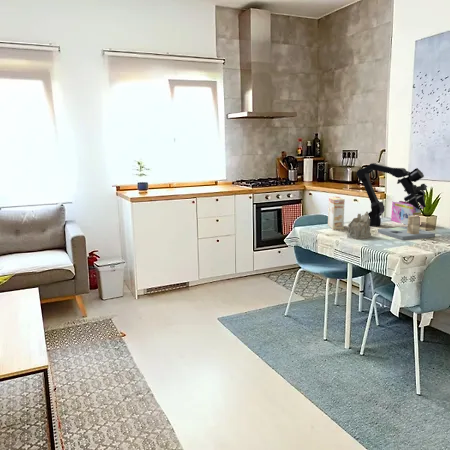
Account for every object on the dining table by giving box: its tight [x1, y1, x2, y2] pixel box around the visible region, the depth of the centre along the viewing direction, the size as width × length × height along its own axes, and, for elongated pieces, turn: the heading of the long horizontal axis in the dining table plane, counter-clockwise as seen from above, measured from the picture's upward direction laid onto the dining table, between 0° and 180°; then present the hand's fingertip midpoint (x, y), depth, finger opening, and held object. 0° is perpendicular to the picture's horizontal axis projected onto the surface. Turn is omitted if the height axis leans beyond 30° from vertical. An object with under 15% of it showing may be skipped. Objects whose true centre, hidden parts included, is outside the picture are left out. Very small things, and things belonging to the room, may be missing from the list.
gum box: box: [390, 200, 424, 226], centre depth 286 cm, size 24×8×14 cm, turn 14°
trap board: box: [377, 226, 436, 241], centre depth 252 cm, size 22×22×2 cm
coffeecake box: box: [327, 196, 346, 231], centre depth 274 cm, size 15×7×20 cm, turn 179°
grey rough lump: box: [346, 211, 372, 240], centre depth 250 cm, size 16×16×15 cm
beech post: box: [406, 215, 421, 234], centre depth 245 cm, size 4×4×10 cm
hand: (422, 208), depth 257 cm, fingers open, 9 cm apart
